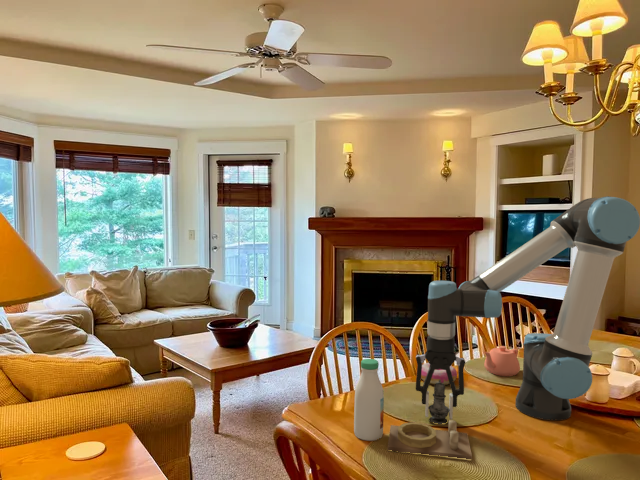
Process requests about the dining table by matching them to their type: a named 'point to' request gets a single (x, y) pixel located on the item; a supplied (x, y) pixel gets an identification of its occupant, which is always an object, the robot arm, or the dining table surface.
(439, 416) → the dark grey tapered tower
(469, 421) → the dining table surface
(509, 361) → the teapot
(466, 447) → the board
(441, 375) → the donut
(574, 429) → the dining table surface
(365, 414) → the milk bottle
